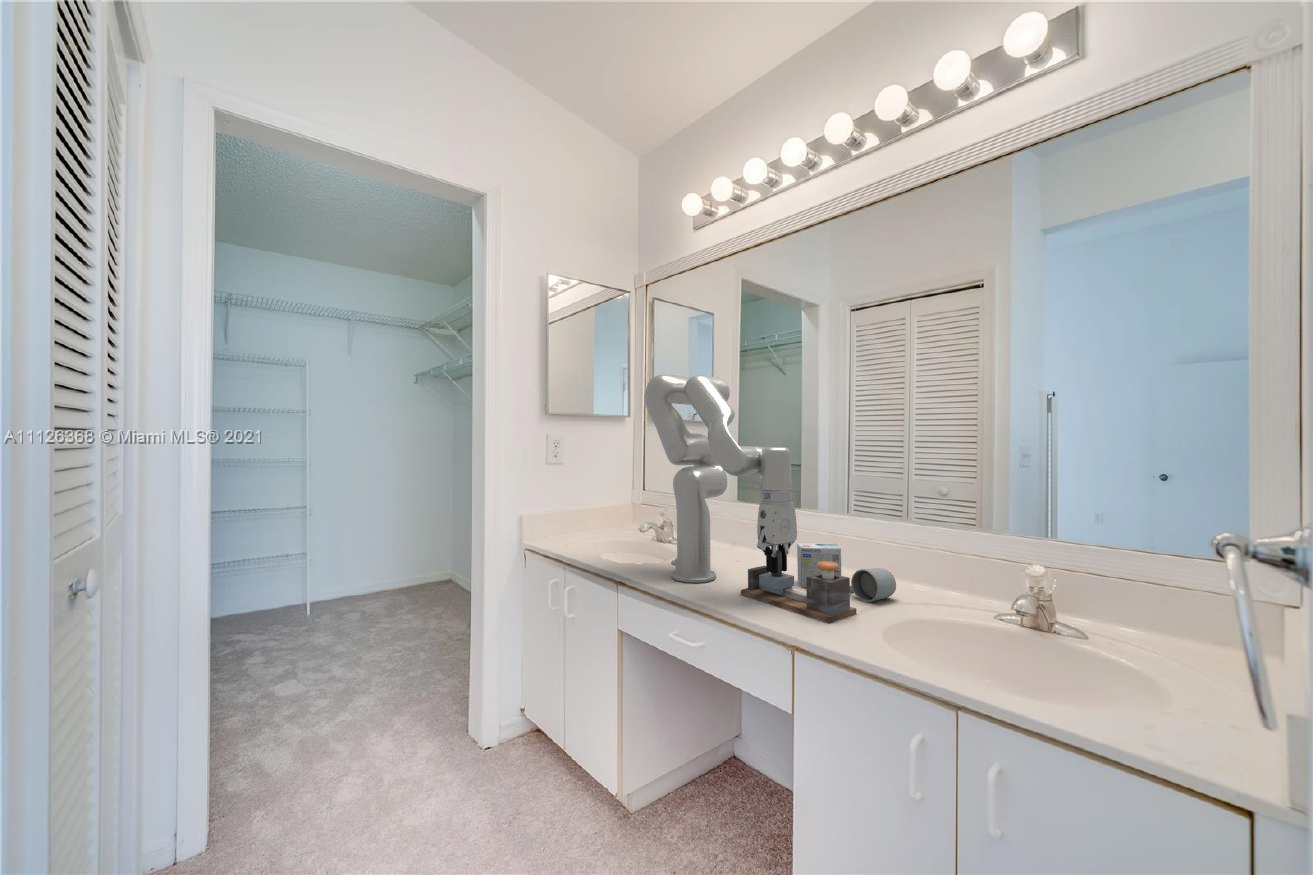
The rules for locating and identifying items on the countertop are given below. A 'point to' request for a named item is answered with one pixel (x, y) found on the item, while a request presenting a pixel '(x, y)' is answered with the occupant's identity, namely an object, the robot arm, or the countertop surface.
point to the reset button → (827, 569)
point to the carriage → (776, 579)
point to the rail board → (807, 596)
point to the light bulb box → (816, 559)
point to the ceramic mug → (872, 584)
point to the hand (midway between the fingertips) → (776, 570)
